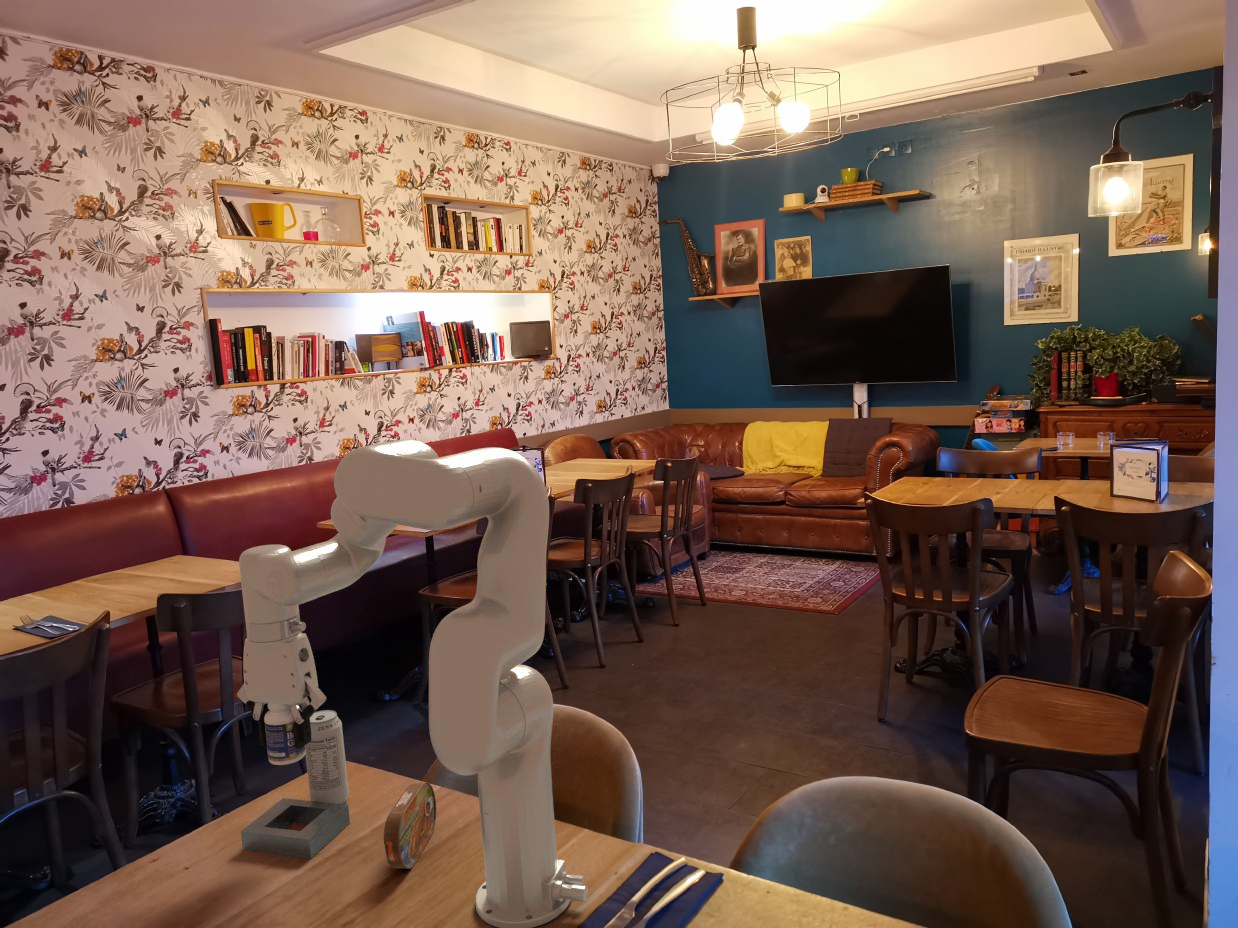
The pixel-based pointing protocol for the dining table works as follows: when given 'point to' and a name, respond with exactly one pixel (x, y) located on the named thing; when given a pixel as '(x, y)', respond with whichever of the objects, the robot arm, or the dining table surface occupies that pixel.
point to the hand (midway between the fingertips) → (286, 742)
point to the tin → (410, 825)
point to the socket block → (306, 843)
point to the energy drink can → (326, 759)
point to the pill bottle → (281, 735)
